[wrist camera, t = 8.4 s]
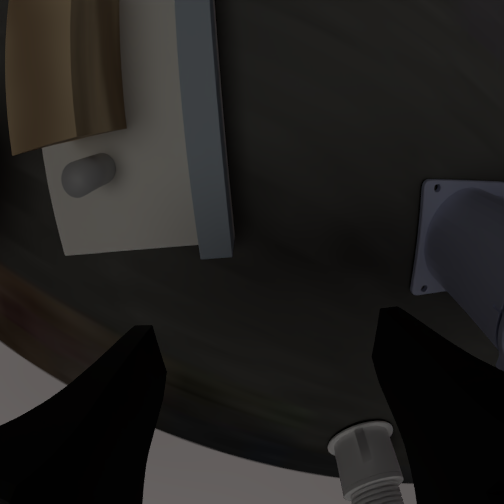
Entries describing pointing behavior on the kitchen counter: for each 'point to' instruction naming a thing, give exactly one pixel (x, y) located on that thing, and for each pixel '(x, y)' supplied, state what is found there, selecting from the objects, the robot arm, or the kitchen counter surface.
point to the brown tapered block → (62, 71)
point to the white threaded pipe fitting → (367, 464)
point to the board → (153, 144)
